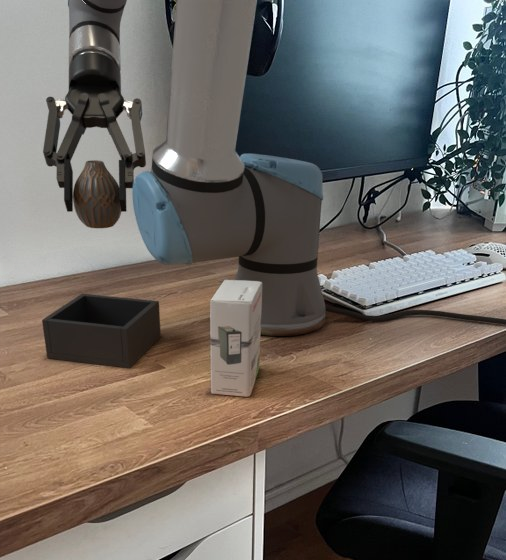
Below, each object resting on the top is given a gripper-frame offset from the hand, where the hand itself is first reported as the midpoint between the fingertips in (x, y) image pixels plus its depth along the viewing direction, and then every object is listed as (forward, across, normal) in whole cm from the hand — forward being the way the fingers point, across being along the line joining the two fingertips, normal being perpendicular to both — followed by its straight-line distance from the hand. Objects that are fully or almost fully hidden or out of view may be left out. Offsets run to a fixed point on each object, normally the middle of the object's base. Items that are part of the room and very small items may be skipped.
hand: (95, 205), depth 96 cm
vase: (0, 0, -5) cm, 5 cm away
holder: (+20, -1, -3) cm, 20 cm away
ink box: (+29, -18, +5) cm, 34 cm away
